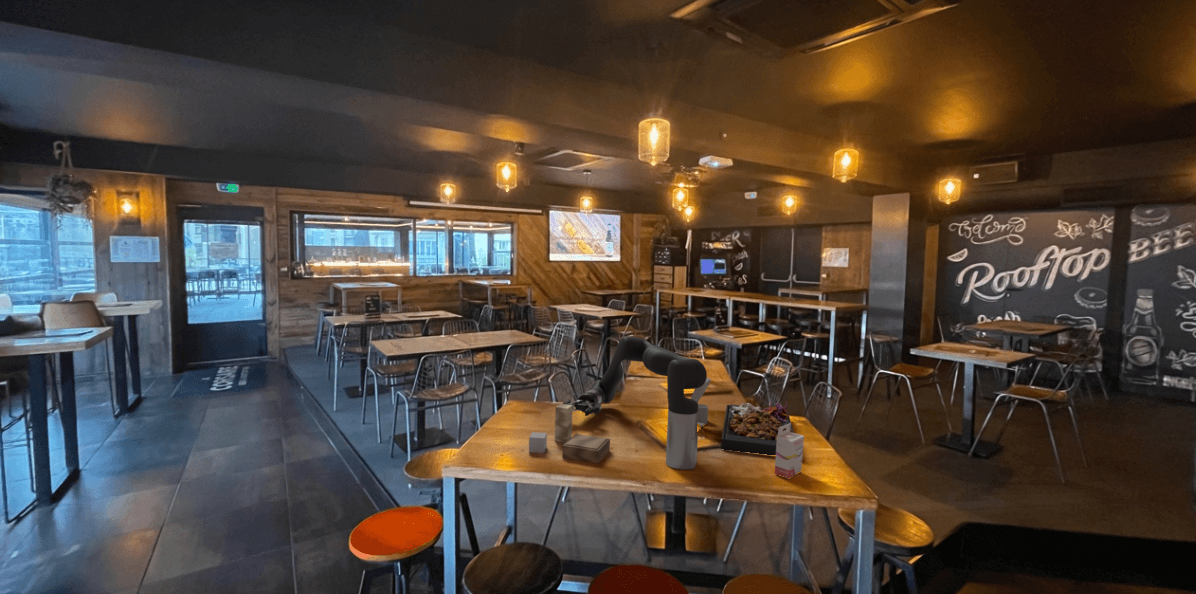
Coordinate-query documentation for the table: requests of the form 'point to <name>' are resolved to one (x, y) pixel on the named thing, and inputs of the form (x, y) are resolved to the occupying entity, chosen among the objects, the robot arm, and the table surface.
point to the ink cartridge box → (788, 452)
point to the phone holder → (701, 408)
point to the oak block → (563, 423)
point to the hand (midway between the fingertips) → (575, 411)
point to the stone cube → (538, 442)
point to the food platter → (753, 428)
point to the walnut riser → (586, 448)
